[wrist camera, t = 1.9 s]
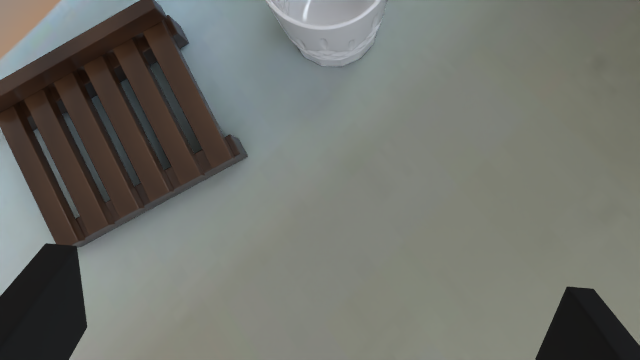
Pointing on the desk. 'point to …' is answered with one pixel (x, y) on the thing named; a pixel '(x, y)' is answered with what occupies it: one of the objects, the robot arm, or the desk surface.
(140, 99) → the slatted wooden rack
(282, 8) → the white cup
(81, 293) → the robot arm
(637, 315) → the desk surface
